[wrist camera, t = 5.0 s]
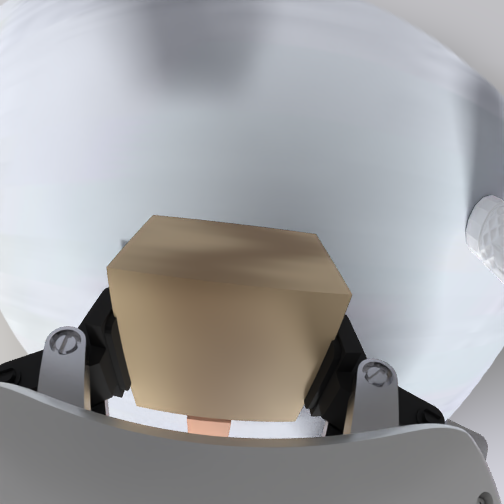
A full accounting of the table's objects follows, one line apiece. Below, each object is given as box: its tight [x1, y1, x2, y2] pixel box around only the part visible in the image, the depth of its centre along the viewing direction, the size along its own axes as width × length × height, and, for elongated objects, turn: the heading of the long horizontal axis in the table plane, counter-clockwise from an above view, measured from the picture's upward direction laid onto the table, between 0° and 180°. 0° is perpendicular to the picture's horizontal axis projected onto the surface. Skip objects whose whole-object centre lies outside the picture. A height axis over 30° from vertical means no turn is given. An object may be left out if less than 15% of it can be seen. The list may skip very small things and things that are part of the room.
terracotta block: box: [187, 415, 231, 437], centre depth 30 cm, size 5×5×4 cm
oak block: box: [107, 215, 352, 422], centre depth 9 cm, size 6×6×4 cm
